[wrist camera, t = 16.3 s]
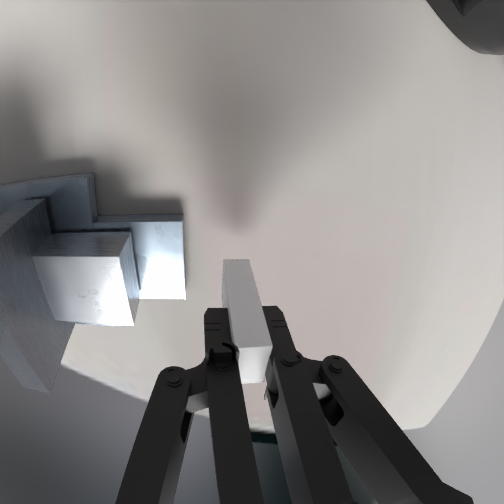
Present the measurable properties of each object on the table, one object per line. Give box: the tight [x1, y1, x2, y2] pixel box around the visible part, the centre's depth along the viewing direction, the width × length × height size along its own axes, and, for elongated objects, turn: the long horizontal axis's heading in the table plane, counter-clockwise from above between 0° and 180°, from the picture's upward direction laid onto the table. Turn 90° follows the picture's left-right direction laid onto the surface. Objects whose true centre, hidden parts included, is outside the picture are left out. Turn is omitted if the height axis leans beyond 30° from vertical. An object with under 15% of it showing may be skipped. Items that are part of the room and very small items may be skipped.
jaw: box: [0, 198, 140, 394], centre depth 13 cm, size 10×9×8 cm
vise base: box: [0, 173, 186, 326], centre depth 13 cm, size 12×24×9 cm, turn 85°
